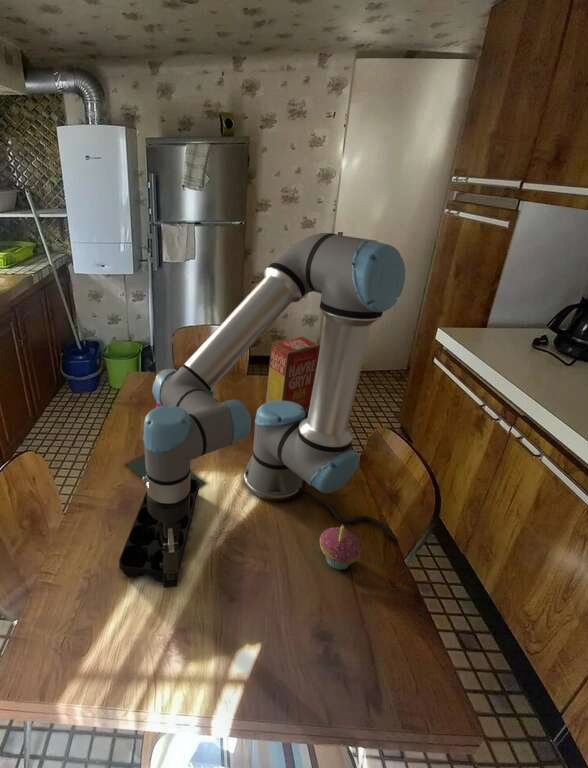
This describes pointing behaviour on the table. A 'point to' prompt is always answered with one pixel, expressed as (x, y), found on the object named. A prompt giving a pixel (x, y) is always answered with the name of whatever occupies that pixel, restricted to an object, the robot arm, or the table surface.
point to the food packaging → (292, 371)
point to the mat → (140, 469)
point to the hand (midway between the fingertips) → (170, 583)
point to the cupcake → (340, 547)
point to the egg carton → (153, 541)
